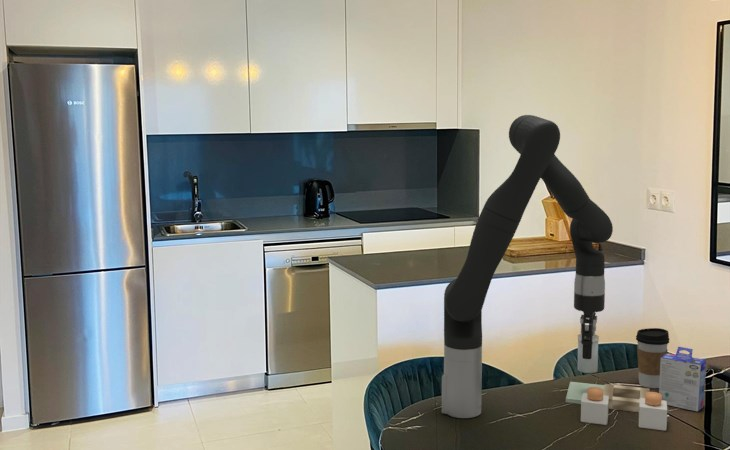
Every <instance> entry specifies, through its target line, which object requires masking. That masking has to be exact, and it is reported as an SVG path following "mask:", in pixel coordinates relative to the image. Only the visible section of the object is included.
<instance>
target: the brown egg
mask: <svg viewBox="0 0 730 450" xmlns="http://www.w3.org/2000/svg"><path fill="white" fill-rule="evenodd" d="M661 402H662V395H661V394H660V393H659V392H656V391H650V392H646V393H645V403H647V404H649V405H654V406H658V405H661Z"/></svg>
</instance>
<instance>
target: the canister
mask: <svg viewBox="0 0 730 450" xmlns="http://www.w3.org/2000/svg"><path fill="white" fill-rule="evenodd" d="M599 337H600V336H599V335H597V334H595V335H594V336H593V340H592V342H593V344H592V357H591V359H583V357H582V355H583V344H582V343H581V341H582V335H581V333H579V334H577V368H576V369H577V371H578V372H581V373H585V374H594V373H598V371H599V369H598V368H599V367H598V366H599V362H598V361H599V342H600V338H599ZM585 339H586V340H590V337H587V336H585Z"/></svg>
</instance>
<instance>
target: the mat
mask: <svg viewBox="0 0 730 450" xmlns="http://www.w3.org/2000/svg"><path fill="white" fill-rule="evenodd" d="M604 386H605V384H597V383H596V384H595V383H586V382H577V381H569V385H568V389H567V393H566V395H565V403H571V404H577V405H581V400H582V396H583V393H588V388H589V387H598V388H601V389H603V393H604Z"/></svg>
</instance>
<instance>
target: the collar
mask: <svg viewBox="0 0 730 450" xmlns="http://www.w3.org/2000/svg"><path fill="white" fill-rule="evenodd" d="M604 385H605V386H604V393H603V395H606V396H609V404H608V410H617V411H625V412H631V413H632V412H633V413H639V399H640V398H645V393H646V392H651V391H650V389H651V388H648V387H640V386H639V387H637V386H631V385H630V386H629V385H619V384H611V383H604Z"/></svg>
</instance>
